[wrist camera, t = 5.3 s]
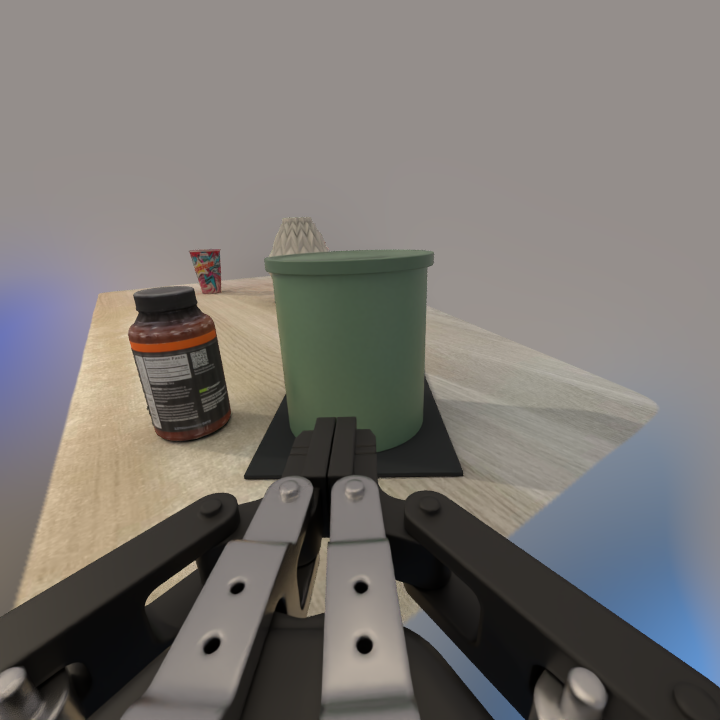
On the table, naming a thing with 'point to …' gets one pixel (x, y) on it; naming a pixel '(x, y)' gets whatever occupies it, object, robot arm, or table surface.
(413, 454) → the runner
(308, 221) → the vase
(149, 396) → the supplement bottle
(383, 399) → the bucket
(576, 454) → the table surface
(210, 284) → the cup
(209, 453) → the table surface
